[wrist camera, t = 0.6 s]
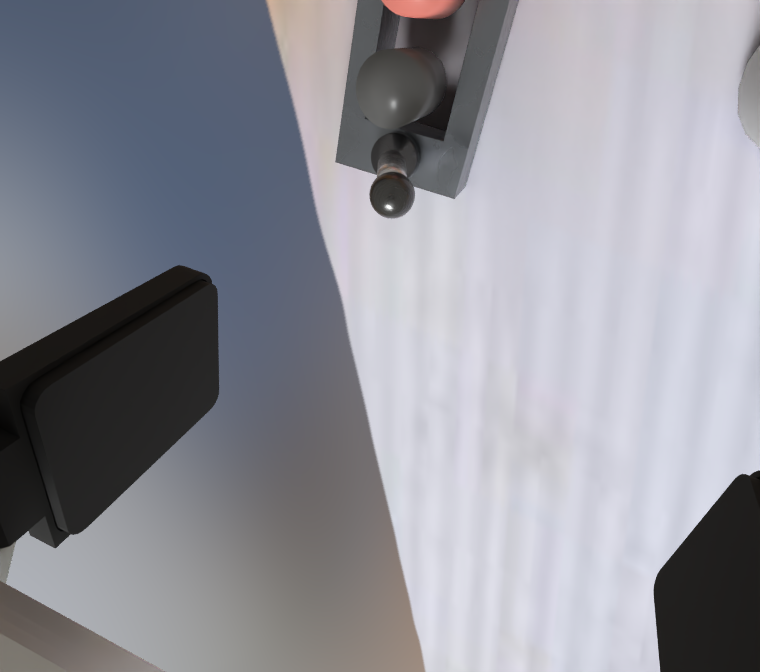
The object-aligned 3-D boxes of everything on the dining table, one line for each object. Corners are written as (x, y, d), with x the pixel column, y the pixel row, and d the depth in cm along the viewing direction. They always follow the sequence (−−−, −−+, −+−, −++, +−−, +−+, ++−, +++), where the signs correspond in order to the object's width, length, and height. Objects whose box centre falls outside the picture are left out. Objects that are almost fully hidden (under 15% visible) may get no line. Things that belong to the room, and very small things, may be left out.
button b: (392, 40, 29) (362, 41, 25) (454, 55, 28) (431, 59, 24) (380, 108, 31) (350, 118, 27) (437, 124, 30) (414, 137, 26)
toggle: (376, 137, 29) (373, 175, 23) (414, 145, 29) (420, 184, 24) (370, 175, 30) (365, 220, 25) (406, 182, 31) (410, 229, 25)
